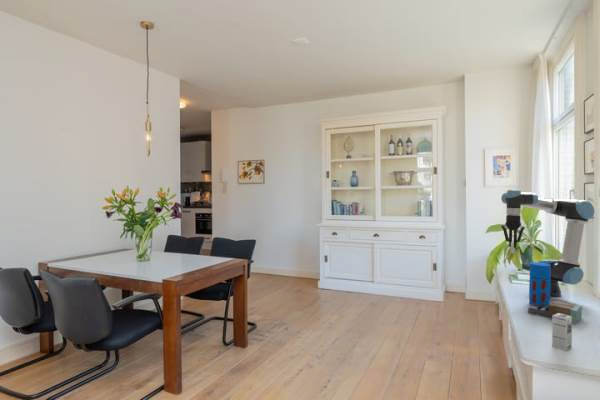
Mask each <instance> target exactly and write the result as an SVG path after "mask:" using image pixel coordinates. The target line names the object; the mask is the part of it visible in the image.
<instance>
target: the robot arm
mask: <svg viewBox="0 0 600 400" xmlns="http://www.w3.org/2000/svg"><path fill="white" fill-rule="evenodd" d="M500 199H501V202H502V203H503V204H505V205H506V212H505V213H506V215H505V216H506V217H505V219H506V220H505V221H506V222H505V224H503V225H501V227H500V228H502V231H503V235H504V238H505V241H506V242H508V247H509V248H510V254H515V253H516V248H517V247H518V246H517V244H518V243H519V242H521V239H522V236H523V232H524V230H525V229H526V226H524V225H522V223H521V207H523V208H524V207H525V208H528V209H529V208H530V209H533V210H538V211H543V212H546V213H548V214H551V215H555V216H559V217H563V218H564V219H565V221H566V222H567V224H566V231H565V235H564V236H565V237H564V239H563V240H564V242H563V245H562V246H563V247H562V253H561V257H560V259H540V260H538V261H537V263H546V264H550V265H551V283H550V297H561V296H562V290H561V287H560V285H559V282H560V283H562V284H566V285H570V286H571V285H574V286H575V285H577V284H579V283H581V282H582V280H583V278H584V270H583V269H582V268H581V264H580V262H579V256H580V249H581V245H582V238H583V233H584V228H585V225H586V224H587V223H588V222H589V220H590V219H592V217H594V215H595V207H594V205H593V204H592V202H590V201H588V200H584V199H553V198H550V199H545V198H540V197H539V196H538V194H537V193H535V192H522V190H520V189H508V190H506V192H504V193H502V195H501V198H500ZM507 228H508V229H507ZM507 230H508V231H507ZM518 230H519V233H518Z"/></svg>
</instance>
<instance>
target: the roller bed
mask: <svg viewBox="0 0 600 400" xmlns="http://www.w3.org/2000/svg"><path fill="white" fill-rule="evenodd" d="M527 308H528V309H527V313H528V314H531V315H536V316H540V317H544V318H545V317H546V318H549V319H552V316H553V315H555V313H550V312H548V308H549V306H544V305H539V304H533V305H532V307H530V306H528V307H527Z"/></svg>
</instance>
